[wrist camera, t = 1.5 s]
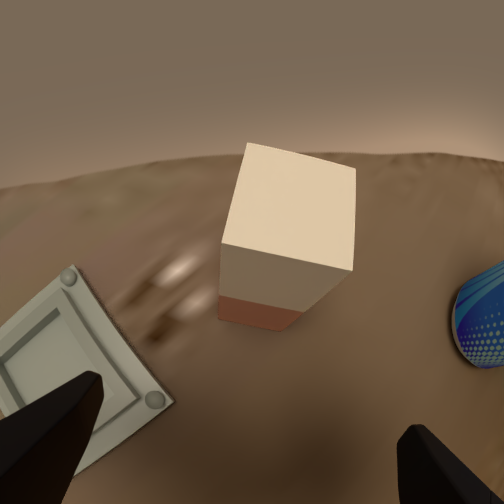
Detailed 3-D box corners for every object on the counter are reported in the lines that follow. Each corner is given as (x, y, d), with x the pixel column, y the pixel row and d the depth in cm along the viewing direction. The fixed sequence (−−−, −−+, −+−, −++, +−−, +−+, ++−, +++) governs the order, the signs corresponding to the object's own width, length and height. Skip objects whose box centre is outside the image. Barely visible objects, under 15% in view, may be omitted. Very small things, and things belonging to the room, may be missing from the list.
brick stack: (280, 331, 22) (352, 270, 10) (217, 319, 22) (221, 242, 10) (289, 272, 24) (355, 168, 12) (230, 260, 24) (247, 142, 12)
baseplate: (175, 401, 19) (170, 403, 17) (60, 485, 15) (47, 492, 13) (78, 268, 22) (66, 258, 20) (-19, 355, 18) (-35, 351, 16)
